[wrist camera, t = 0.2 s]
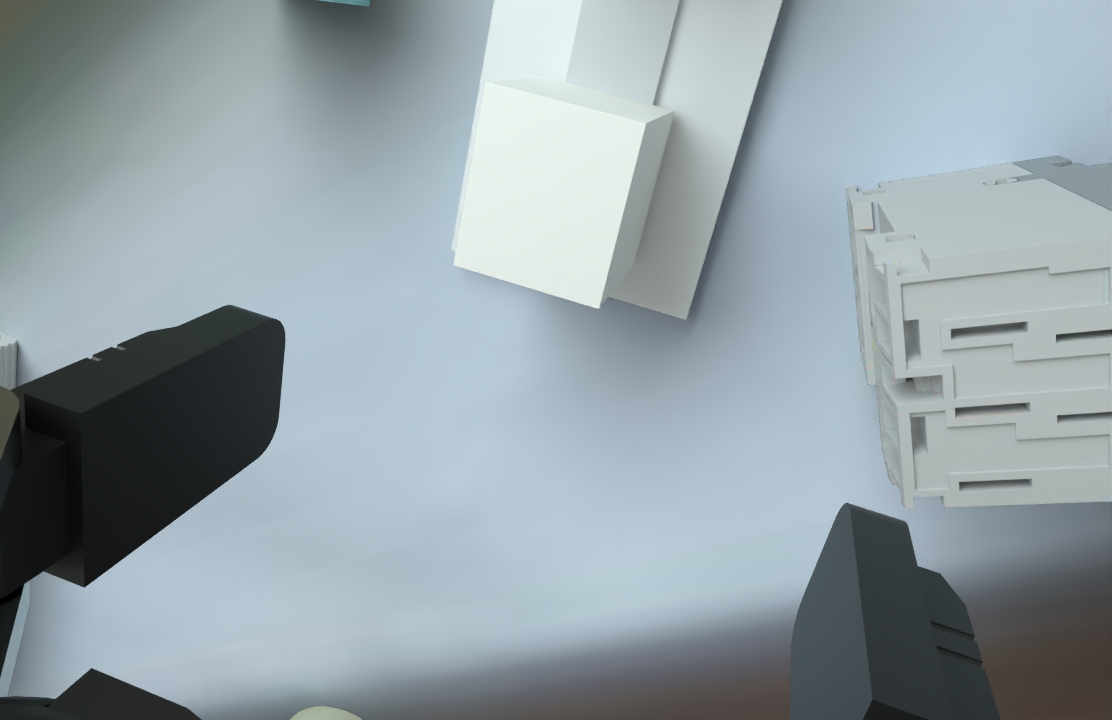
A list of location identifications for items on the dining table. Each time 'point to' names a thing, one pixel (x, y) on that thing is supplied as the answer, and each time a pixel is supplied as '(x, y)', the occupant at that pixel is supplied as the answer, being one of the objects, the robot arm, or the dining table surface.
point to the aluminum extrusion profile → (8, 362)
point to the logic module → (351, 2)
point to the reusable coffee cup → (324, 714)
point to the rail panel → (692, 133)
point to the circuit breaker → (990, 330)
